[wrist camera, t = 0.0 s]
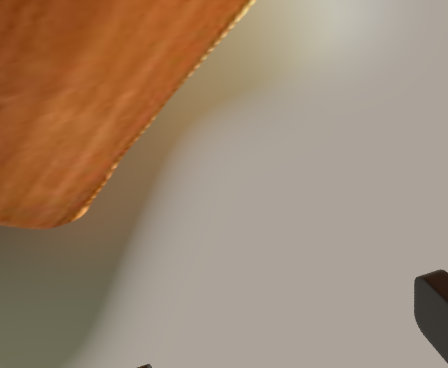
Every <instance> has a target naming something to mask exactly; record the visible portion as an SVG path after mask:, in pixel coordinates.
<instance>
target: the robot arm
mask: <svg viewBox="0 0 448 368" xmlns="http://www.w3.org/2000/svg"><path fill="white" fill-rule="evenodd" d="M414 290H415V291H414V294H415V295H414V315H415V319H416V322H417V324H418V326H419V328H420V330H421V332H422V333H423V335H424V336H425V337H426V338H427V339H428V341H429V342H430V343H431V344H432V345H433V347H434V348H435V349H436V350H437V351H438V352H439V354H440V355H441V356H442V357H443V358H444V359H445V361H446V362H447V363H448V273H447V272H446V271H444V270H437V271H434V272H431V273H428V274H425V275H422V276H419V277H416V279H415V284H414ZM138 368H152V367H151V365H150V364H147V365H144V366H141V367H138Z"/></svg>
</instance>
